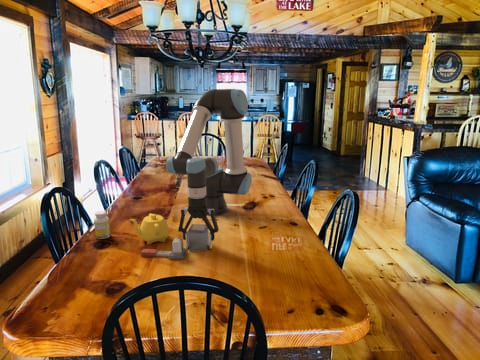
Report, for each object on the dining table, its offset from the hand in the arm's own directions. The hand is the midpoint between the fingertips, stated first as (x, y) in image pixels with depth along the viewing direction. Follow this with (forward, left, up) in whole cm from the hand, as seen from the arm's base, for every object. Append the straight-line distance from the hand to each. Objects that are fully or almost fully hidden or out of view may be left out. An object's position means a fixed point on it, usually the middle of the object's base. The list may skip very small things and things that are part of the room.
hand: (199, 246), depth 159 cm
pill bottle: (-9, -46, 0) cm, 47 cm away
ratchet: (+8, -13, 0) cm, 15 cm away
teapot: (-6, -23, -1) cm, 24 cm away
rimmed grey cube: (0, 0, 0) cm, 0 cm away
